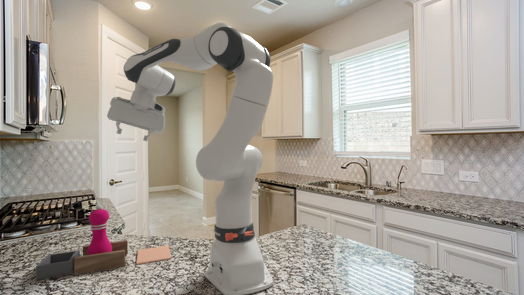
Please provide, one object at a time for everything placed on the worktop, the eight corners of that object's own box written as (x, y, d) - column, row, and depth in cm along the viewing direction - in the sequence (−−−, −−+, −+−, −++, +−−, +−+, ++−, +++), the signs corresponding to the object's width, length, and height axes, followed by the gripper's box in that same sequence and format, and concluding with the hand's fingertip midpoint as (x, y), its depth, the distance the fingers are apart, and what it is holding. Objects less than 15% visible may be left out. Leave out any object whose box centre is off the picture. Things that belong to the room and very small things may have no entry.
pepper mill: (113, 258, 99) (112, 201, 99) (110, 265, 92) (109, 205, 92) (90, 261, 96) (88, 203, 96) (85, 269, 89) (83, 207, 90)
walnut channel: (124, 266, 91) (124, 251, 91) (74, 274, 86) (74, 258, 86) (127, 253, 103) (127, 239, 103) (83, 260, 98) (83, 245, 98)
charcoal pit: (71, 274, 86) (71, 261, 86) (36, 280, 83) (35, 266, 83) (79, 261, 97) (79, 250, 97) (48, 266, 93) (48, 254, 93)
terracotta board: (171, 259, 96) (171, 257, 96) (136, 264, 92) (136, 263, 92) (168, 246, 109) (168, 245, 109) (138, 251, 105) (138, 249, 105)
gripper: (113, 91, 101) (101, 126, 97) (169, 110, 110) (160, 142, 106) (112, 98, 107) (101, 131, 103) (166, 114, 116) (158, 146, 111)
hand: (132, 137), depth 104 cm, fingers open, 8 cm apart
